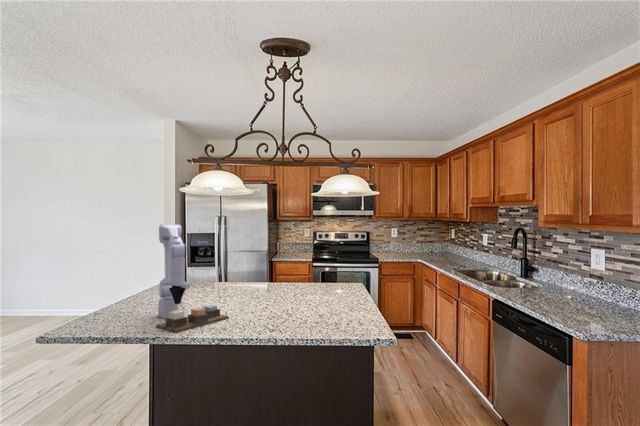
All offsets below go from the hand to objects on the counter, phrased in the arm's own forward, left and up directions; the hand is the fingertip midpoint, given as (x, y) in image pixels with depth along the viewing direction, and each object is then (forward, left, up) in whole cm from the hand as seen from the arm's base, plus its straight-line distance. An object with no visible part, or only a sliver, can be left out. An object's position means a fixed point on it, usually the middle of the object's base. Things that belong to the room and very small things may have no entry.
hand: (177, 303), depth 165 cm
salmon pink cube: (+3, +9, -7) cm, 11 cm away
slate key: (0, +18, -8) cm, 19 cm away
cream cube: (0, 0, -7) cm, 7 cm away
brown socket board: (0, +9, -10) cm, 13 cm away
